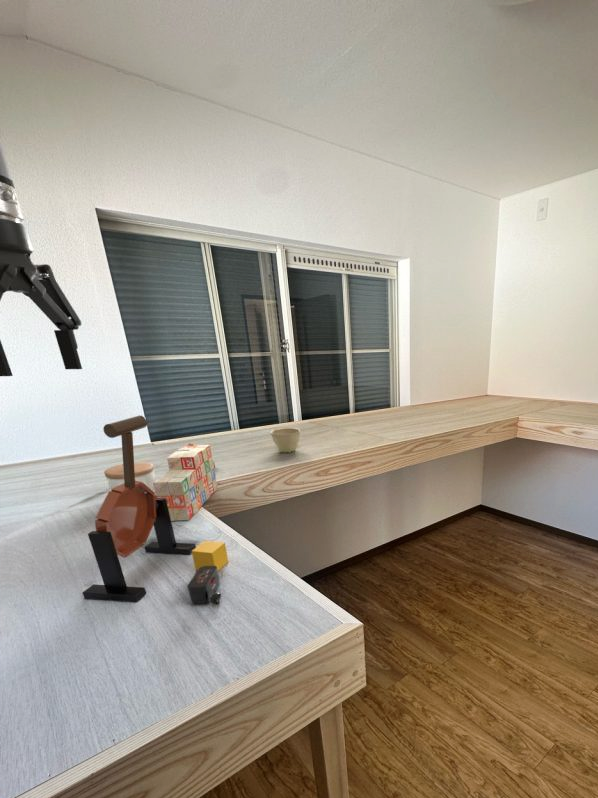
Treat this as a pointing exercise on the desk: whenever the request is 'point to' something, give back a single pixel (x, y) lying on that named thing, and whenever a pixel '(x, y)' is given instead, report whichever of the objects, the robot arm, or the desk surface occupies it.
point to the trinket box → (142, 474)
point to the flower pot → (286, 439)
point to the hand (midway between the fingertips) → (41, 372)
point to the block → (210, 555)
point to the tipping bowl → (127, 496)
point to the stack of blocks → (187, 481)
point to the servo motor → (204, 586)
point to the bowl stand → (111, 565)
